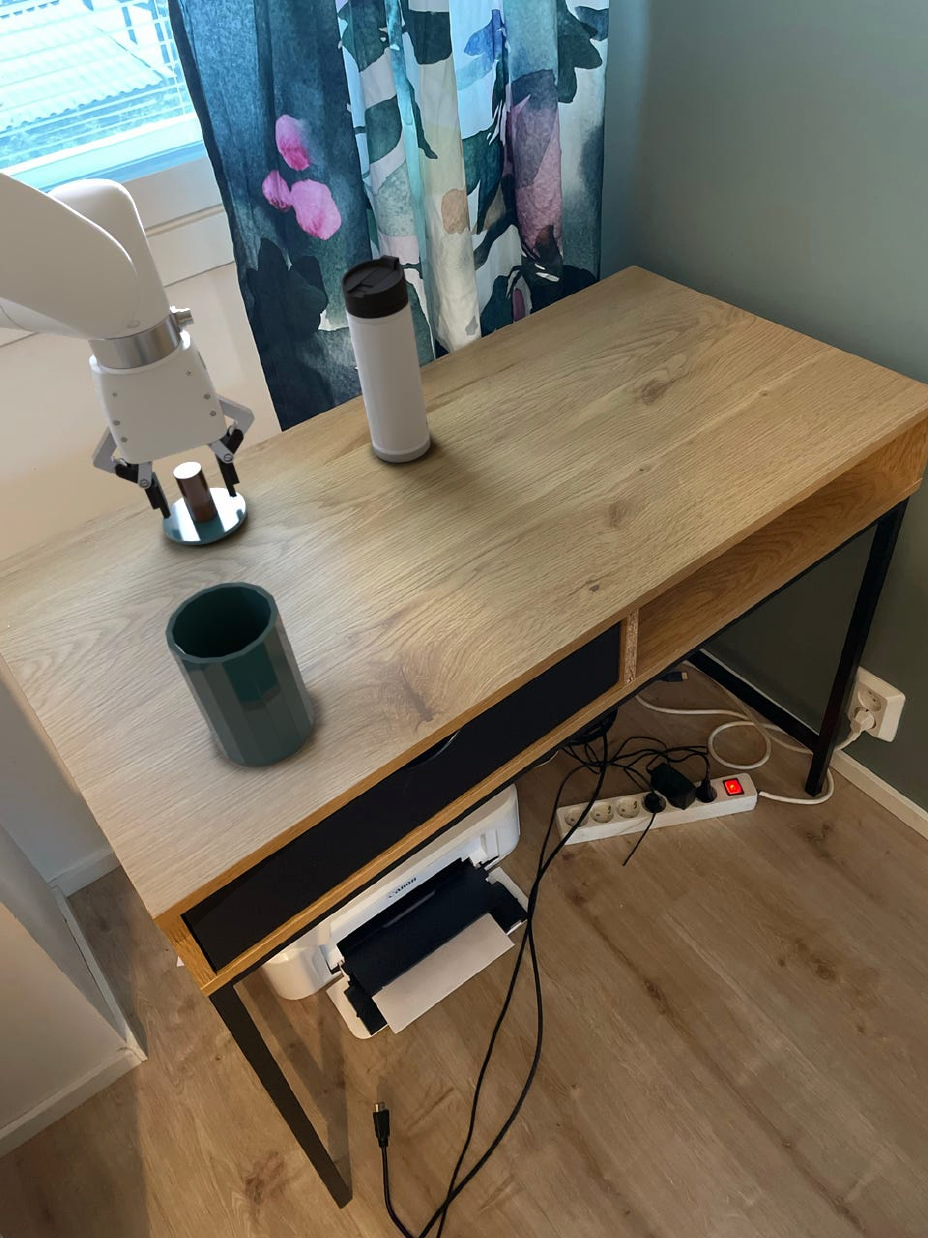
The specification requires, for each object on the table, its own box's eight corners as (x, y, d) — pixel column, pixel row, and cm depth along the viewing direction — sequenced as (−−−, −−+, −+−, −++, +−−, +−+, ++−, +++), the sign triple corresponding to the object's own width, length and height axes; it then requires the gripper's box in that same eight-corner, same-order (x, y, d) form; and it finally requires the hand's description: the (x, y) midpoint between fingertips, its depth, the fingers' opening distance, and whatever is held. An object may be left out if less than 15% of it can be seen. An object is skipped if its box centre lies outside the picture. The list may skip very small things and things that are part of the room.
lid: (172, 559, 89) (149, 507, 84) (160, 511, 95) (137, 460, 90) (256, 532, 91) (238, 480, 86) (239, 486, 96) (221, 435, 92)
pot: (227, 781, 70) (175, 678, 61) (209, 708, 75) (158, 604, 66) (326, 744, 71) (288, 638, 62) (300, 675, 76) (263, 569, 68)
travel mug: (443, 436, 99) (419, 259, 85) (409, 469, 96) (378, 290, 81) (397, 423, 102) (366, 249, 88) (363, 455, 98) (325, 278, 84)
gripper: (223, 293, 82) (272, 455, 95) (31, 345, 79) (109, 506, 91) (240, 328, 77) (290, 494, 90) (36, 385, 74) (118, 549, 86)
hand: (198, 499), depth 91 cm, fingers open, 6 cm apart
